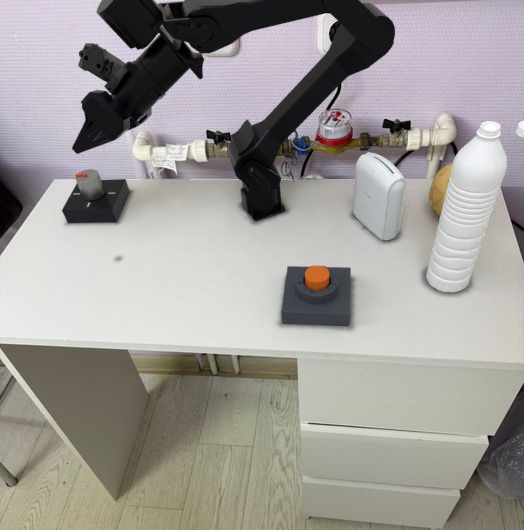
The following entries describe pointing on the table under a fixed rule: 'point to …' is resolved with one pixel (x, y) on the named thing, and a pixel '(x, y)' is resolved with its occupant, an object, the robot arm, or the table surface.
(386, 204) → the photo printer
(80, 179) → the dial
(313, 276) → the button
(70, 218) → the panel
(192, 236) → the table surface
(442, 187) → the stress ball
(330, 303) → the box
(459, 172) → the water bottle
